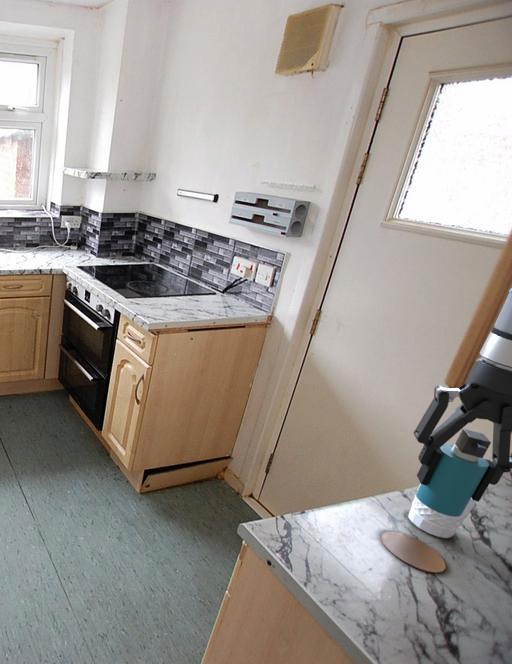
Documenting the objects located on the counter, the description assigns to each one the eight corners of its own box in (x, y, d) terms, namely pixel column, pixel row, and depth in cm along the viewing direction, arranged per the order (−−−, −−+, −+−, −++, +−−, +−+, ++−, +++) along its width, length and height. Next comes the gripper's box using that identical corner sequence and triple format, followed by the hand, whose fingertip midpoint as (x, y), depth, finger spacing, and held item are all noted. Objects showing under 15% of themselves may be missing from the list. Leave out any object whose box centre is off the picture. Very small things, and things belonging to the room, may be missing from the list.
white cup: (406, 504, 95) (426, 465, 92) (457, 527, 90) (480, 486, 87) (402, 523, 90) (422, 481, 86) (455, 548, 85) (480, 505, 81)
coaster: (436, 546, 85) (436, 545, 85) (452, 581, 77) (453, 581, 77) (377, 525, 89) (377, 524, 89) (387, 557, 81) (387, 556, 81)
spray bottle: (411, 487, 82) (445, 419, 77) (454, 500, 80) (492, 431, 75) (422, 509, 77) (459, 438, 72) (469, 525, 74) (511, 452, 69)
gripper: (439, 356, 70) (382, 478, 78) (618, 394, 62) (534, 526, 70) (425, 341, 76) (373, 456, 85) (586, 374, 68) (512, 497, 76)
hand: (446, 487), depth 77 cm, fingers closed on spray bottle, 6 cm apart
